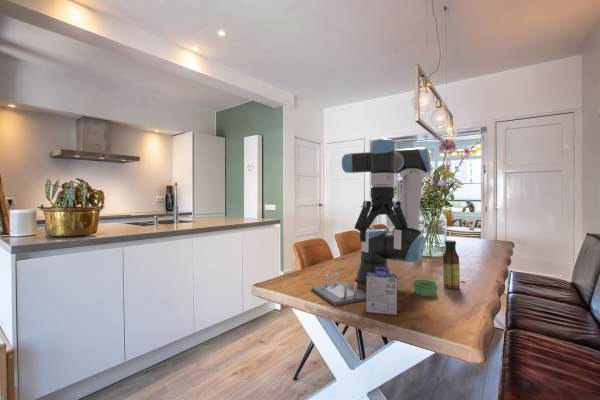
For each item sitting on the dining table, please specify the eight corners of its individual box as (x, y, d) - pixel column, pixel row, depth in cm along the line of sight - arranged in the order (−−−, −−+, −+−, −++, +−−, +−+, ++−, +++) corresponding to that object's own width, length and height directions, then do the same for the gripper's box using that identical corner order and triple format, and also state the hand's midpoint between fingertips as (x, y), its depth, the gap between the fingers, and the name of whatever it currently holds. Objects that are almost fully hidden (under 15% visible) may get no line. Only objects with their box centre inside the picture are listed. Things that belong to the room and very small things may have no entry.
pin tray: (345, 285, 123) (345, 270, 123) (371, 299, 106) (371, 282, 106) (311, 289, 116) (311, 274, 116) (334, 305, 100) (334, 287, 100)
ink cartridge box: (395, 308, 97) (396, 266, 97) (397, 315, 92) (398, 270, 92) (365, 306, 99) (366, 265, 99) (366, 312, 94) (366, 269, 94)
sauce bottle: (459, 286, 122) (459, 240, 122) (460, 290, 117) (461, 242, 116) (442, 284, 125) (442, 239, 125) (442, 288, 119) (443, 241, 119)
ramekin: (425, 288, 119) (425, 278, 119) (443, 295, 111) (443, 284, 111) (408, 291, 116) (408, 280, 116) (425, 298, 107) (425, 287, 107)
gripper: (358, 185, 86) (357, 255, 87) (419, 187, 97) (418, 249, 97) (344, 186, 93) (343, 250, 93) (402, 187, 103) (401, 246, 104)
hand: (381, 250), depth 95 cm, fingers open, 13 cm apart
